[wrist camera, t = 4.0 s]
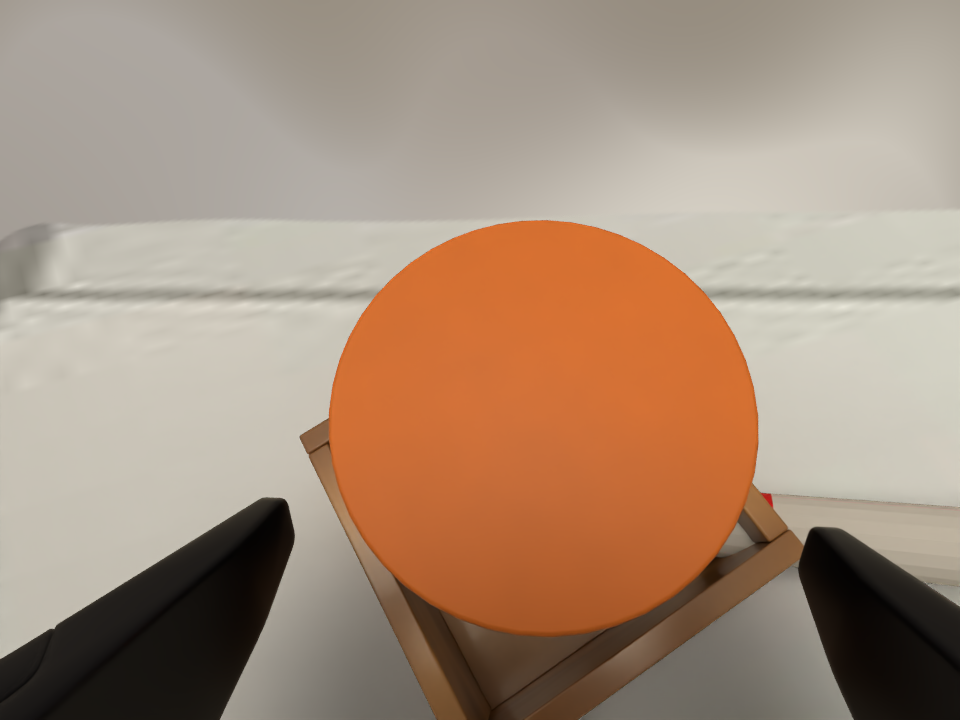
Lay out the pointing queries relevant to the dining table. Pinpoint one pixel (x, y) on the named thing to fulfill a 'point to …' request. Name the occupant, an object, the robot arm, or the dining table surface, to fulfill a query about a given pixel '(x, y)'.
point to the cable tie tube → (543, 428)
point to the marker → (875, 531)
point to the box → (554, 660)
